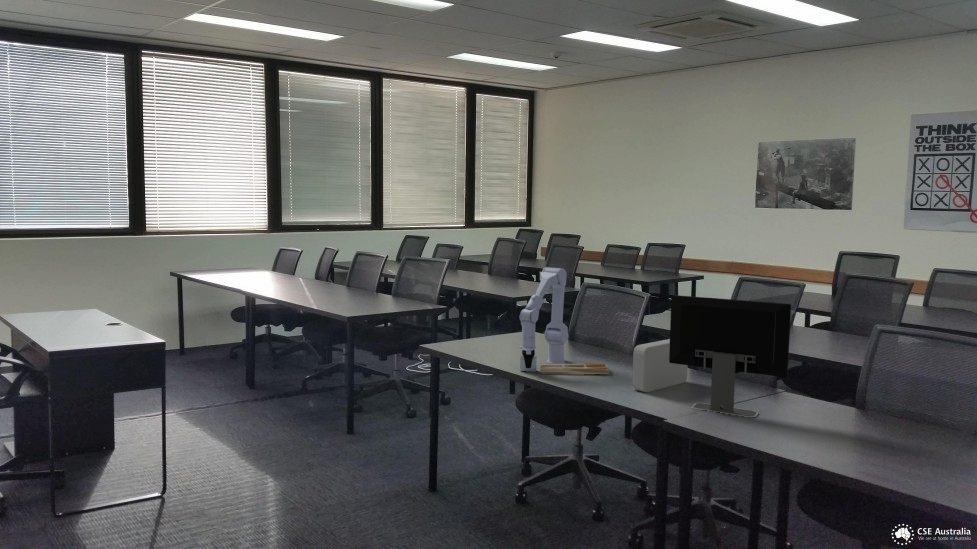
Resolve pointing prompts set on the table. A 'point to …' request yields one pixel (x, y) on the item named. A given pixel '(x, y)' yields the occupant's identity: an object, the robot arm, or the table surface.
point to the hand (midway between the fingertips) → (528, 367)
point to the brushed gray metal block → (523, 367)
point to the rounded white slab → (656, 367)
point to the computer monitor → (729, 342)
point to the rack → (574, 368)
